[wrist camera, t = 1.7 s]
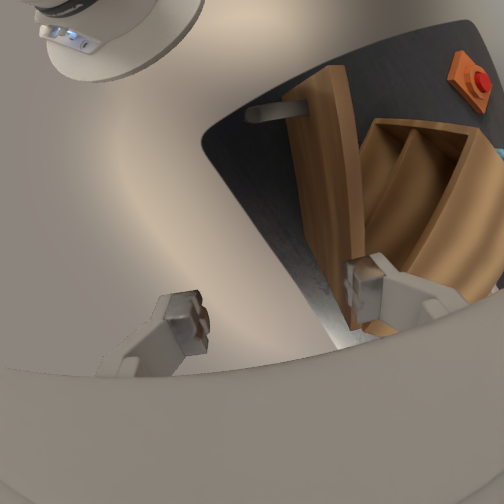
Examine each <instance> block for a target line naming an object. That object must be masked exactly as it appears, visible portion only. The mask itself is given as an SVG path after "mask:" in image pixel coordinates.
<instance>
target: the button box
mask: <svg viewBox="0 0 504 504" xmlns="http://www.w3.org/2000/svg"><path fill="white" fill-rule="evenodd" d="M476 73H485V74H486V72H485V71H484V70H483V69H482V68H481V67H480V66H477V65H475V64H474V62H473V61H472V60H471V59H470V58H469V57H468V56H467V55H466V54H465V53H464V51H456V52H455V55H454V58H453V62H452V65H451V68H450V71H449V74H448V77H447V81H448V82H449V83H450V84H451V85H452V86H453V87H454V88H455V89H456V90H457V91H458V92H459V93H460V94H461V95H462V96H463V98H464V99H465V100H466V101H467V102H468V103H469V104H470V105H471V107H472V108H473V109H474V110H475V111H476V112H477V113H482V114H484V113H485V110H486V106H487V103H488V99H489V96H490V92H491V90H490V91H489V92H484V91H480V90H479V89H478V88H477V86H476V84H475V80H474V75H475V74H476ZM491 87H492V84H491Z"/></svg>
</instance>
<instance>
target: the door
mask: <svg viewBox="0 0 504 504" xmlns="http://www.w3.org/2000/svg"><path fill="white" fill-rule="evenodd" d="M281 99H282V102H276V103H270V104H264V105H258V106H252V107H249V108H248V109H247V110H246V111H245V114H244V121H245V122H246V123H247V124H255V123H261V122H267V121H273V120H279V119H286V124H287V129H288V135H289V140H290V146H291V151H292V157H293V163H294V169H295V175H296V181H297V187H298V194H299V201H300V207H301V214H302V222H303V229H304V237H305V239H306V241H307V243H308V245H309V247H310V249H311V251H312V253H313V255H314V257H315V259H316V261H317V263H318V265H319V267H320V268H321V270H322V272H323V274H324V276H325V278H326V280H327V282H328V285H329V287H330V289H331V291H332V293H333V295H334V297H335V299H336V301H337V303H338V305H339V307H340V309H341V311H342V314H343V316H344V318H345V320H346V322H347V324H348V326H349V329H350V331H353V330H357V329H360V328H362V323H361V324H358V323H357V321H356V319H355V317H354V315H353V313H352V307H351V306H349V305H348V304H347V302H346V299H345V296H344V291H343V281H344V279H345V278H346V277H345V275H344V273H343V268H342V265H343V262H344V261H347V260H351V259H355V258H359V257H363V256H365V225H364V203H363V188H362V175H361V165H360V155H359V147H358V139H357V131H356V124H355V118H354V112H353V106H352V100H351V95H350V89H349V84H348V79H347V75H346V70H345V66H344V65H330V66H327V67H325V68H323V69H322V70H320V71H319V72H317V73H316V74H314V75H312V76H311V77H309V78H308V79H306V80H305V81H303V82H302V83H300V84H299V85H297V86H296V87H294V88H293V89H292V90H290V91H289V92H287V93H286V94H284V95H283V96H282V97H281Z"/></svg>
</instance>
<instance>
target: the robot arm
mask: <svg viewBox="0 0 504 504" xmlns="http://www.w3.org/2000/svg"><path fill="white" fill-rule="evenodd" d="M16 1H20V2H25V3H28V4H30V5H34V6H35V7H36V9H37V10H36V13H35V22H36V23H38V24H41V25H40V32H39V35H40V37H41V38H43V39H46V40H49V41H52V42H55V43H58V44H61V45H63V46H66V47H69V48H72V49H74V50H77V51H80V52H82V53H85V54H87V55H92V54H94V53H96V52H97V51H98V50H99V49H100V48H102V47H103V46H104V45H105V44H106V43H108V42H109V41H111V40H113V39H116V38H118V37H120V36H122V35H124V34H126V33H127V32H129V31H131V30H132V29H133V28H135V27H136V26H137V25H138V24H140V23H141V22H142V21H143V20H144V19H145V18H146V17H147V16H148V14H149V13H150V12H151V10H152V9H153V7H154V6H155V4H156V2H157V0H16ZM87 44H88V45H87ZM86 45H87V47H85V46H86ZM342 268H343V273H344V275H345V277H346V278H345V279H344V281H343V291H344V296H345V299H346V302H347V304H348V305H349V306H351V307H352V313H353V315H354V317H355V319H356V321H357V323H358V324H361V323H365V322H369V321H373V320H377V319H380V321H382V322H384V323H385V324H387V325H389V326H390V327H392V328H393V329H395V330H397V331H398V333H395V334H392V335H389V336H386V337H383V338H380V339H376V340H373V341H370V342H366V343H363V344H359V345H356V346H352V347H348V348H344V349H340V350H337V351H333V352H329V353H325V354H320V355H316V356H312V357H307V358H302V359H297V360H292V361H287V362H282V363H276V364H270V365H265V366H259V367H252V368H245V369H238V370H230V371H222V372H213V373H204V374H193V375H181V376H172V374H173V373H174V372H175V370H176V369H177V368H178V367H179V365H180V364H181V363H182V361H183V360H184V359H185V356H192V355H199V354H206V353H207V349H208V338H207V336H206V335H207V334H208V333H209V332H210V321H209V316H208V312H207V310H206V308H205V307H203V306H202V296H201V294H200V292H199V291H198V290H193V291H187V292H180V293H174V294H167V295H162V296H160V297H159V299H158V302H157V304H156V306H155V309H154V311H153V314H152V316H151V319H150V321H149V322H145V323H144V324H143V325H142V326H140V327H139V328H138V329H137V330H135V331H134V332H133V333H132V334H131V335H129V336H128V337H127V338H126V339H124V340H123V341H122V342H121V343H120V344H118V345H117V346H116V347H115V348H114V349H112V350H111V351H110V352H109V353H108V354H106V355H105V356H104V357H103V359H102V361H101V363H100V365H99V368H98V370H97V372H96V375H95V377H84V376H68V375H55V374H46V373H37V372H30V371H22V370H16V369H11V368H4V369H2V370H0V504H504V288H503V289H501V290H499V291H497V292H495V293H493V294H491V295H489V296H487V297H485V298H483V299H481V300H479V301H477V302H475V303H472V304H469V303H468V302H467V301H466V300H465V299H464V298H463V297H462V296H461V294H460V293H459V292H458V291H457V290H456V289H454V288H451V287H448V286H445V285H442V284H439V283H436V282H433V281H430V280H427V279H424V278H421V277H418V276H415V275H412V274H409V273H406V272H399V271H398V270H397V269H396V268H395V267H394V266H393V265H392V264H391V263H390V262H389V260H388V259H387V258H386V257H385V256H384V255H383V254H382V253H380V252H378V253H375V254H371V255H367V256H363V257H359V258H355V259H351V260H347V261H344V262H343V265H342Z"/></svg>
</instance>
